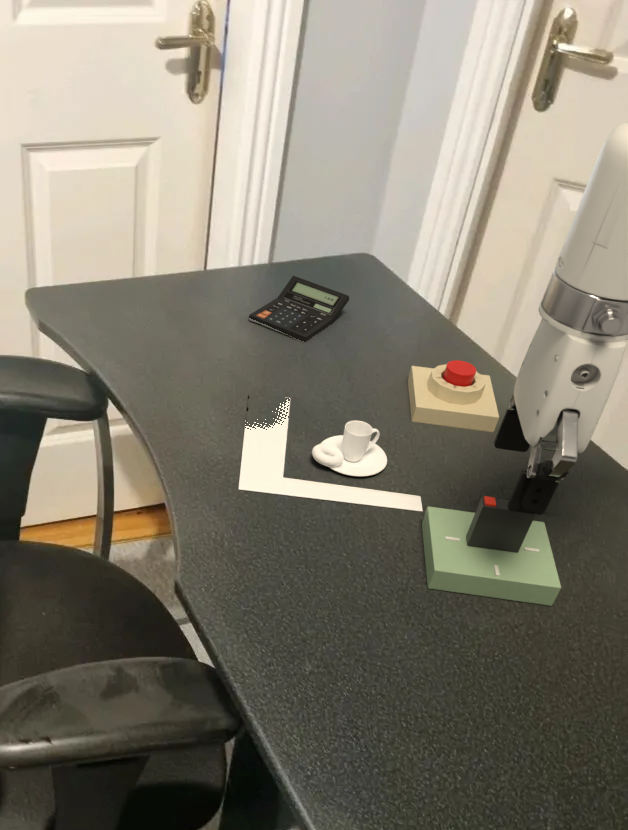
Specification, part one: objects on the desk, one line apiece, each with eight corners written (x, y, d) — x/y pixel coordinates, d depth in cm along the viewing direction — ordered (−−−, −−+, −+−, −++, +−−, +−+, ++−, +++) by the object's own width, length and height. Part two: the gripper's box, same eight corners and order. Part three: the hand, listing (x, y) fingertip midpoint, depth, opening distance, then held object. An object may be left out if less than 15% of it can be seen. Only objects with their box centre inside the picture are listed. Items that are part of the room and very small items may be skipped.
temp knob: (516, 543, 85) (534, 501, 81) (518, 553, 84) (537, 511, 80) (465, 536, 85) (482, 494, 81) (467, 545, 84) (483, 504, 80)
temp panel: (535, 540, 89) (545, 520, 88) (552, 606, 82) (562, 586, 80) (421, 524, 90) (428, 504, 88) (427, 588, 83) (435, 568, 81)
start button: (470, 374, 106) (474, 362, 105) (473, 389, 104) (478, 376, 102) (441, 371, 106) (445, 358, 105) (443, 385, 104) (447, 373, 103)
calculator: (248, 320, 121) (251, 300, 118) (291, 294, 127) (294, 274, 125) (304, 343, 117) (308, 322, 115) (346, 314, 124) (350, 294, 122)
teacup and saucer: (309, 474, 95) (316, 443, 92) (310, 434, 101) (316, 404, 98) (388, 483, 95) (397, 453, 92) (384, 443, 101) (392, 413, 98)
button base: (484, 390, 111) (494, 362, 108) (493, 432, 104) (504, 404, 101) (407, 380, 111) (415, 352, 109) (411, 422, 104) (419, 393, 102)
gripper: (672, 363, 60) (575, 544, 72) (617, 263, 73) (542, 432, 85) (565, 348, 61) (486, 531, 73) (529, 252, 73) (466, 422, 85)
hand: (516, 478), depth 79 cm, fingers open, 9 cm apart
